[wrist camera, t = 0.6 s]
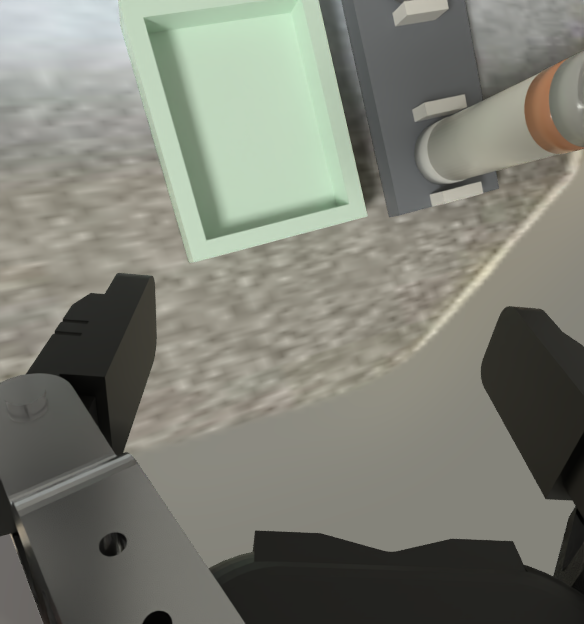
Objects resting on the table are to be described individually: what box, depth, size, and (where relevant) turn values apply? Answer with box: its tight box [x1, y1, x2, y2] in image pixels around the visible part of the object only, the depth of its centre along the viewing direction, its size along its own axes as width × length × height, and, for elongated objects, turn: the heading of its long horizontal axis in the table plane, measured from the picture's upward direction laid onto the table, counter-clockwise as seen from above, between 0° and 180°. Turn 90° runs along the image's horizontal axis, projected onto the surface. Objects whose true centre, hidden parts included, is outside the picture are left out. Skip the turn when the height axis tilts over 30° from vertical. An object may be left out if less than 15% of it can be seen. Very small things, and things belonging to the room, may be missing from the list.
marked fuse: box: [414, 51, 584, 185], centre depth 28 cm, size 4×4×13 cm
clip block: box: [341, 0, 499, 217], centre depth 33 cm, size 18×8×3 cm, turn 15°
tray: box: [118, 0, 367, 263], centre depth 30 cm, size 14×11×3 cm
